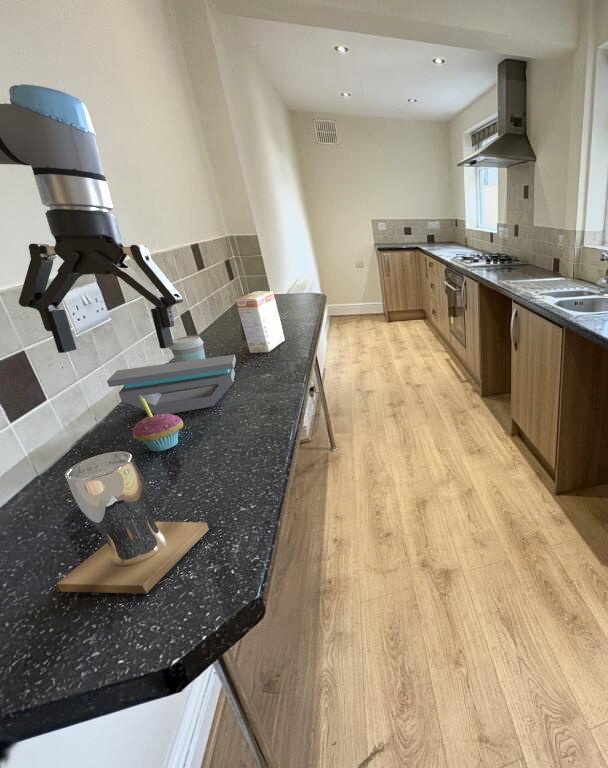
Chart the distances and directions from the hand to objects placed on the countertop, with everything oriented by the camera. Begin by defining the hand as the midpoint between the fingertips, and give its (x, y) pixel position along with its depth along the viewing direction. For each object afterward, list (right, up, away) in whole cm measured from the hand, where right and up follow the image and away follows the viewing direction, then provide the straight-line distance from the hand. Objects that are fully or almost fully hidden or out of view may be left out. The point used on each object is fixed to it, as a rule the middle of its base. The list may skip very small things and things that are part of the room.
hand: (118, 349), depth 68 cm
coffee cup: (-33, -4, +60) cm, 68 cm away
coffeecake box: (-27, +8, +87) cm, 92 cm away
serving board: (+10, -32, -7) cm, 34 cm away
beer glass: (+10, -31, -7) cm, 33 cm away
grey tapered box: (-21, -12, +41) cm, 47 cm away
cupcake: (-11, -20, +22) cm, 32 cm away
